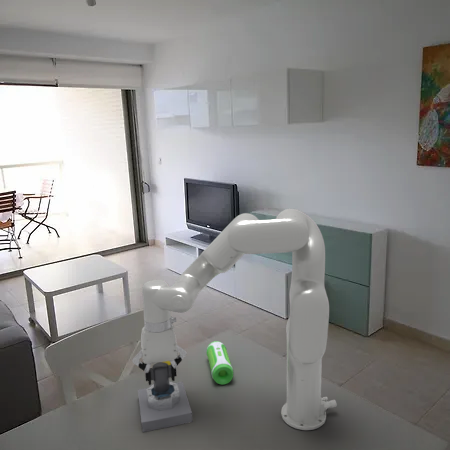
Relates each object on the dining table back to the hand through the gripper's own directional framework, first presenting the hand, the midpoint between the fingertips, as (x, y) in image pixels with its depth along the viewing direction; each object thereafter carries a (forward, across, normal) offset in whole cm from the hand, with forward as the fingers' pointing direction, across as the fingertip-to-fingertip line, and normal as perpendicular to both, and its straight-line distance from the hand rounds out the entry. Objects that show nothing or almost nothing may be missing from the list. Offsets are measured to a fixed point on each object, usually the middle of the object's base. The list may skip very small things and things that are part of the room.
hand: (161, 379), depth 124 cm
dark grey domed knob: (+3, 0, 0) cm, 3 cm away
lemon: (+10, -3, -19) cm, 22 cm away
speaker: (+10, -21, -15) cm, 28 cm away
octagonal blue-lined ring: (+7, 0, 0) cm, 7 cm away
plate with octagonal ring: (+10, 0, 0) cm, 10 cm away
